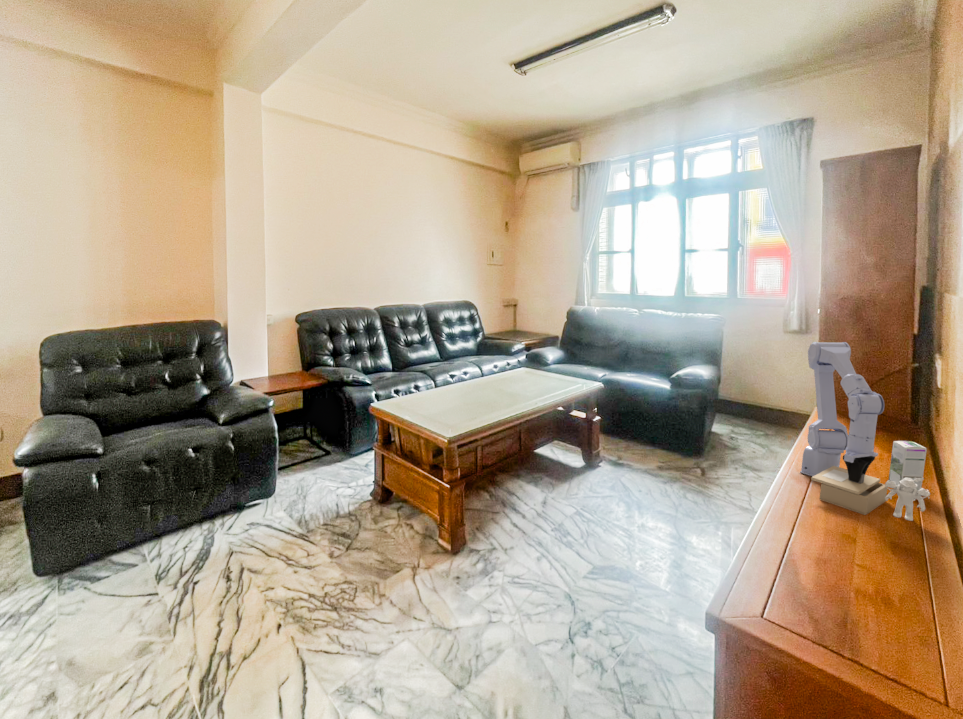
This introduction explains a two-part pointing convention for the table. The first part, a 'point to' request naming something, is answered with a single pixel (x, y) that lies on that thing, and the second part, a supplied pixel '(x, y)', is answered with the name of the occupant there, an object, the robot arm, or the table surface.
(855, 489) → the mailer lid
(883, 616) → the table surface
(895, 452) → the syrup box
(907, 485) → the blocky character figurine
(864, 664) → the table surface
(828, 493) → the mailer box
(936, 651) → the table surface
